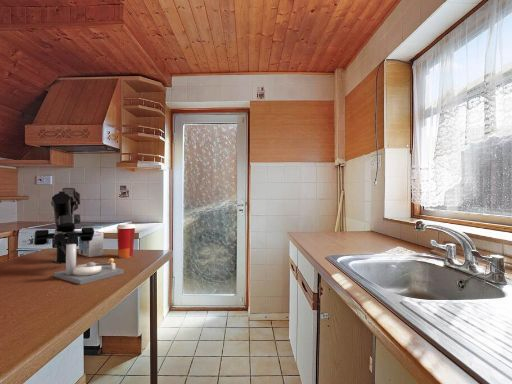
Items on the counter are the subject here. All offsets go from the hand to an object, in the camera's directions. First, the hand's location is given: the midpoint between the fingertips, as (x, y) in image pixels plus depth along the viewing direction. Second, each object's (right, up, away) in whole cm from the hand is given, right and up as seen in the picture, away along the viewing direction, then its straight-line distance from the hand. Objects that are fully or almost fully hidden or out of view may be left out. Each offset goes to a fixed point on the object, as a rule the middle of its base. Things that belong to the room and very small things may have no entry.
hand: (67, 254), depth 108 cm
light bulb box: (-10, -7, +33) cm, 35 cm away
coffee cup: (+8, -8, +30) cm, 32 cm away
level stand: (+8, -8, 0) cm, 11 cm away
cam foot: (+10, -6, -2) cm, 11 cm away
